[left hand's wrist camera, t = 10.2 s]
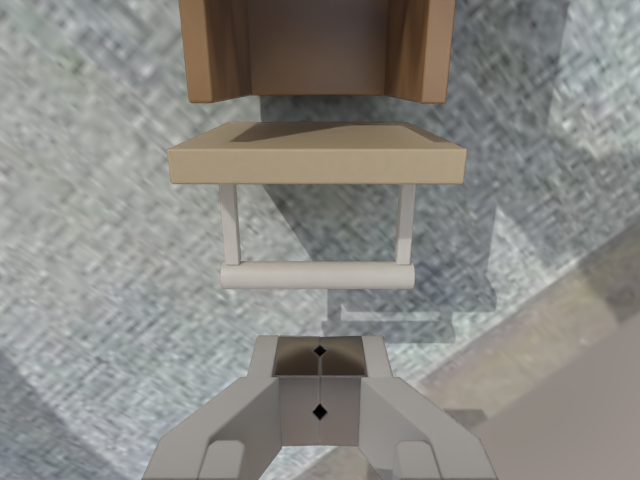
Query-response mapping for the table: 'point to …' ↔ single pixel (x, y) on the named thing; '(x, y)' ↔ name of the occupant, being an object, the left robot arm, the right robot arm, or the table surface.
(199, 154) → the drawer
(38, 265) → the table surface
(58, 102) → the table surface
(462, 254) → the table surface
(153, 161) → the table surface
